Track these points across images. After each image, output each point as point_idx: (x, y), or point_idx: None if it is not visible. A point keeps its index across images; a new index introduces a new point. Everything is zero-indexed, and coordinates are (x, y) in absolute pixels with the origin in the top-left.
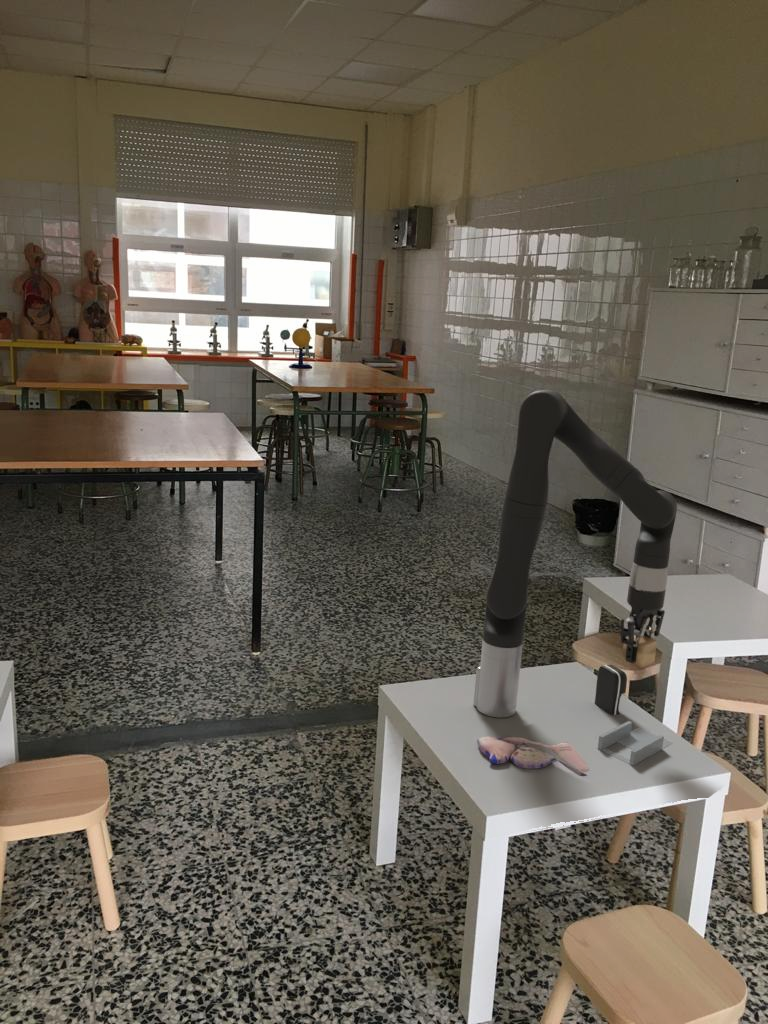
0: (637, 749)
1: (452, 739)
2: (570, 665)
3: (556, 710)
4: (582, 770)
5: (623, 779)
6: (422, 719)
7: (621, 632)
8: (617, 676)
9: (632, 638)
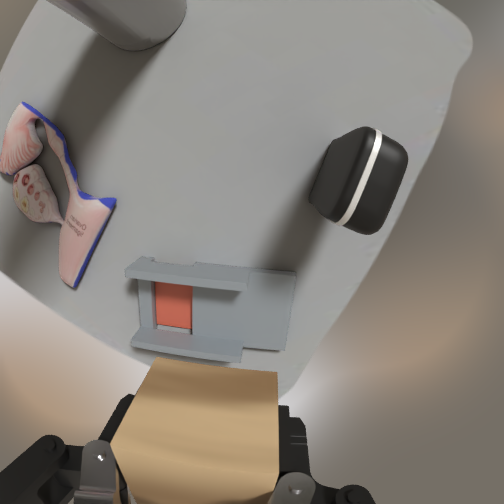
0: (144, 346)
1: (19, 74)
2: (464, 28)
3: (245, 85)
4: (61, 278)
5: (113, 326)
6: (42, 8)
7: (3, 473)
8: (337, 217)
9: (53, 499)
